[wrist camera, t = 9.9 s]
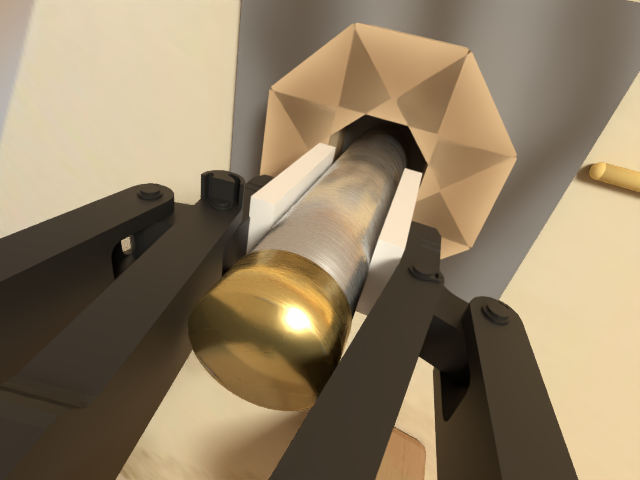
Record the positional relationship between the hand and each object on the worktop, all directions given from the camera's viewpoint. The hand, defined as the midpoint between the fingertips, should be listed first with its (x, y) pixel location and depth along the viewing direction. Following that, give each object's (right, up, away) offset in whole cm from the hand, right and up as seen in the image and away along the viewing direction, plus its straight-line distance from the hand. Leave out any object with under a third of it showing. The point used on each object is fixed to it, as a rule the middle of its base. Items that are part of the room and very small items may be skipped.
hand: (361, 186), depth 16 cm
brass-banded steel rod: (+2, +3, +5) cm, 6 cm away
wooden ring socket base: (+2, +3, +6) cm, 7 cm away
